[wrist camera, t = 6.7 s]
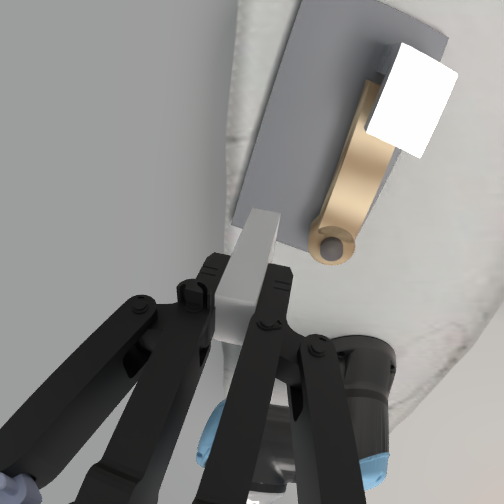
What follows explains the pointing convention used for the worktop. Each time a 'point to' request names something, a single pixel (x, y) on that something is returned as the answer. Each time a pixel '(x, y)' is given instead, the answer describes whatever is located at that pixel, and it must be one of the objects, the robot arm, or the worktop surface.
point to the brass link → (350, 187)
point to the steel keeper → (409, 98)
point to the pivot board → (321, 107)
